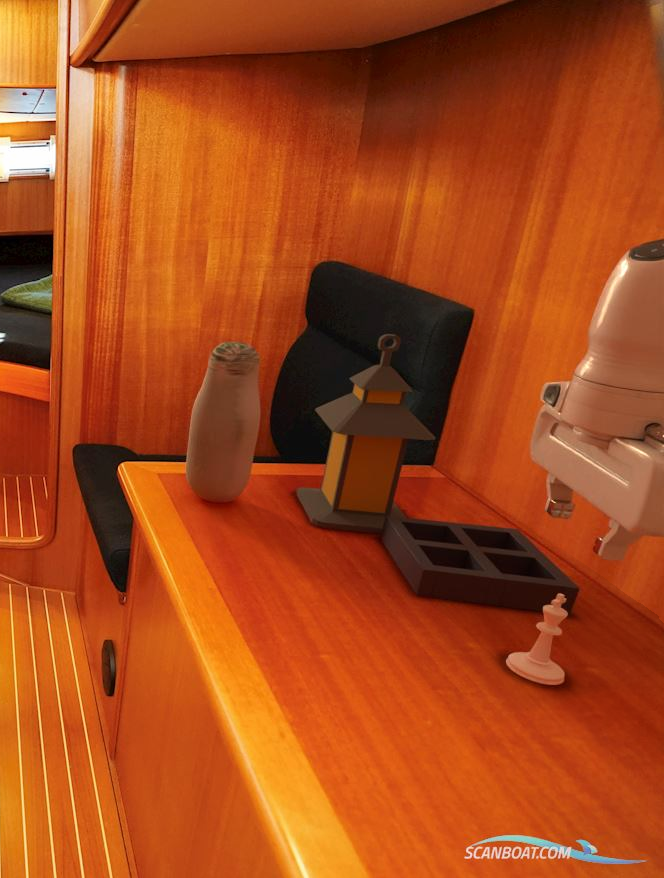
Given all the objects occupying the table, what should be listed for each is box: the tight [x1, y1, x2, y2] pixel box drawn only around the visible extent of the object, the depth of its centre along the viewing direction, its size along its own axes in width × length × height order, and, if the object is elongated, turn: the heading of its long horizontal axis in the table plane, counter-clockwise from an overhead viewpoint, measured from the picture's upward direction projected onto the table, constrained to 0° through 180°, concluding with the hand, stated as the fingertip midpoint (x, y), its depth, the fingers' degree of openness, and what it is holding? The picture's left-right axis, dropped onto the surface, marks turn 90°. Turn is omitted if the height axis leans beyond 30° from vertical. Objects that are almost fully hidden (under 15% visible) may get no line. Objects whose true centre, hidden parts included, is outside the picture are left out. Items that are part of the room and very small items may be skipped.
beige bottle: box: [185, 341, 261, 504], centre depth 118 cm, size 10×10×28 cm
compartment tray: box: [379, 516, 580, 616], centre depth 97 cm, size 16×16×4 cm
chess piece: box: [505, 593, 569, 686], centre depth 77 cm, size 5×5×10 cm
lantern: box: [296, 333, 436, 535], centre depth 111 cm, size 14×14×30 cm
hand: (580, 535), depth 73 cm, fingers open, 8 cm apart
